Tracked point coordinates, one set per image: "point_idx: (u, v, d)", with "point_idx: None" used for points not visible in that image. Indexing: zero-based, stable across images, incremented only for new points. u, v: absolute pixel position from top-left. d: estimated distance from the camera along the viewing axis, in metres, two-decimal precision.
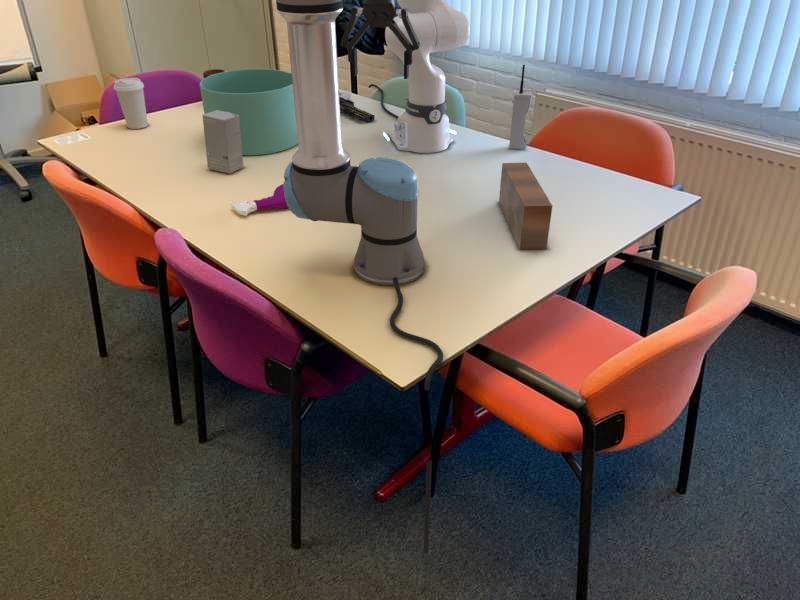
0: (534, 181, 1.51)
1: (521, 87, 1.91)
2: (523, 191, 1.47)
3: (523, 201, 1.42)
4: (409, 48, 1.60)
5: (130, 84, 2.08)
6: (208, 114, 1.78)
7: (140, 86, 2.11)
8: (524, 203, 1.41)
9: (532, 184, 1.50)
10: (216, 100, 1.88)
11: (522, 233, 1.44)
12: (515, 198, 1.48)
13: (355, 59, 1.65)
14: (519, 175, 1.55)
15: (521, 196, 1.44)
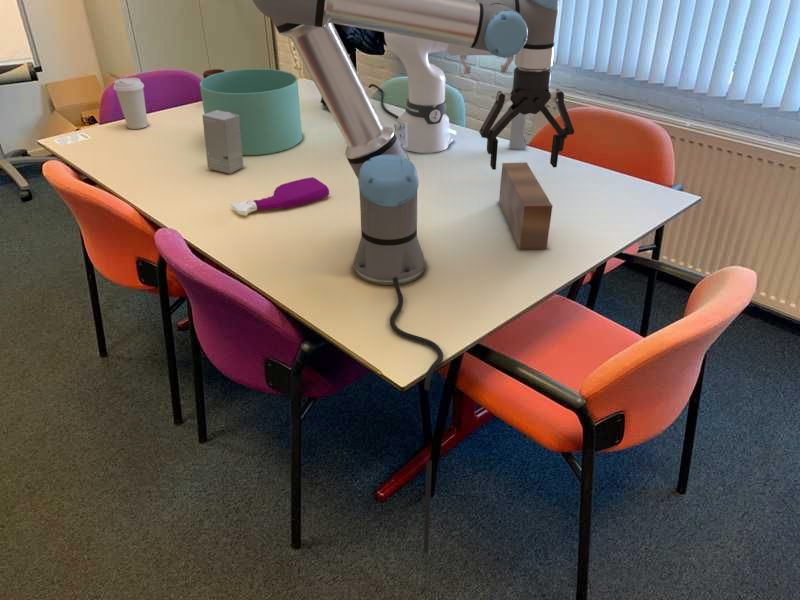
0: (534, 181, 1.51)
1: None
2: (523, 191, 1.47)
3: (523, 201, 1.42)
4: (563, 134, 1.38)
5: (130, 84, 2.08)
6: (208, 114, 1.78)
7: (140, 86, 2.11)
8: (524, 203, 1.41)
9: (532, 184, 1.50)
10: (216, 100, 1.88)
11: (522, 233, 1.44)
12: (515, 198, 1.48)
13: None
14: (519, 175, 1.55)
15: (521, 196, 1.44)
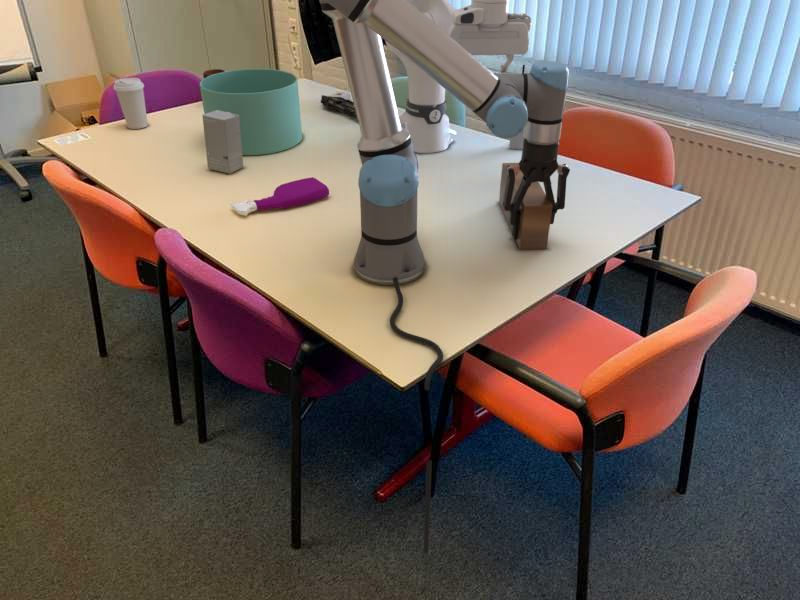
0: None
1: None
2: None
3: (523, 201, 1.42)
4: (554, 209, 1.44)
5: (130, 84, 2.08)
6: (208, 114, 1.78)
7: (140, 86, 2.11)
8: (524, 203, 1.41)
9: (533, 184, 1.50)
10: (216, 100, 1.88)
11: (522, 233, 1.44)
12: None
13: None
14: (519, 175, 1.55)
15: None
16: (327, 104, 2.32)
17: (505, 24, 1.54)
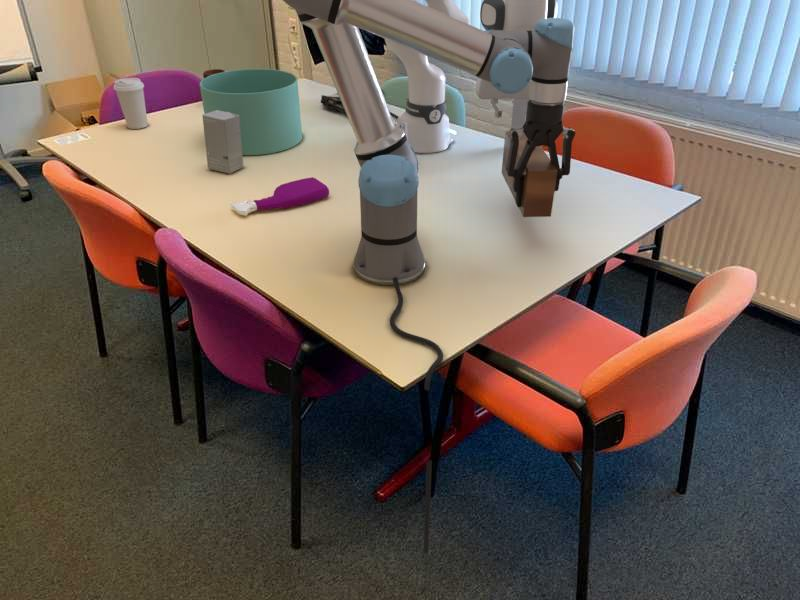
0: (538, 148, 1.47)
1: None
2: None
3: (527, 166, 1.38)
4: (559, 174, 1.40)
5: (130, 84, 2.08)
6: (208, 114, 1.78)
7: (140, 86, 2.11)
8: (528, 168, 1.37)
9: (536, 150, 1.46)
10: (216, 100, 1.88)
11: (526, 199, 1.39)
12: None
13: None
14: (523, 142, 1.50)
15: None
16: (327, 104, 2.32)
17: None
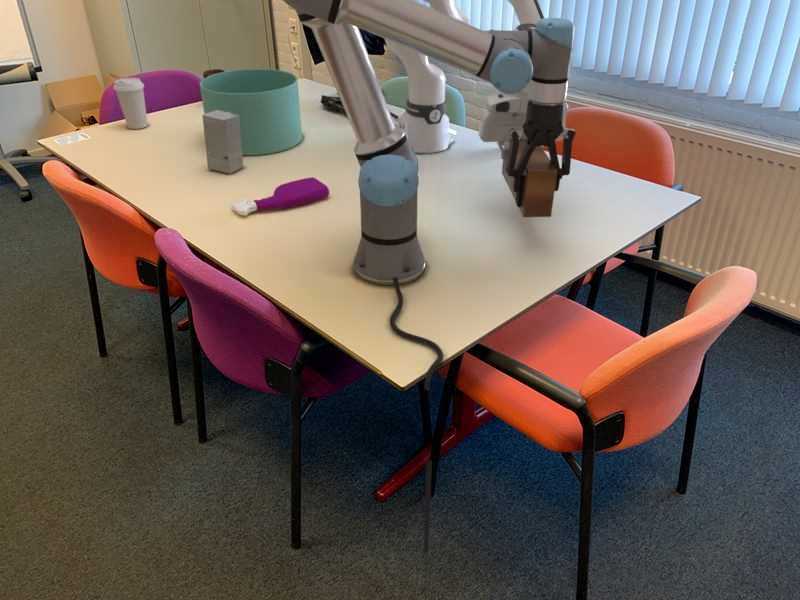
0: (538, 148, 1.47)
1: None
2: None
3: (527, 166, 1.38)
4: (559, 174, 1.40)
5: (130, 84, 2.08)
6: (208, 114, 1.78)
7: (140, 86, 2.11)
8: (528, 168, 1.37)
9: (537, 150, 1.46)
10: (216, 100, 1.88)
11: (526, 200, 1.39)
12: None
13: None
14: (523, 142, 1.50)
15: None
16: (327, 104, 2.32)
17: None
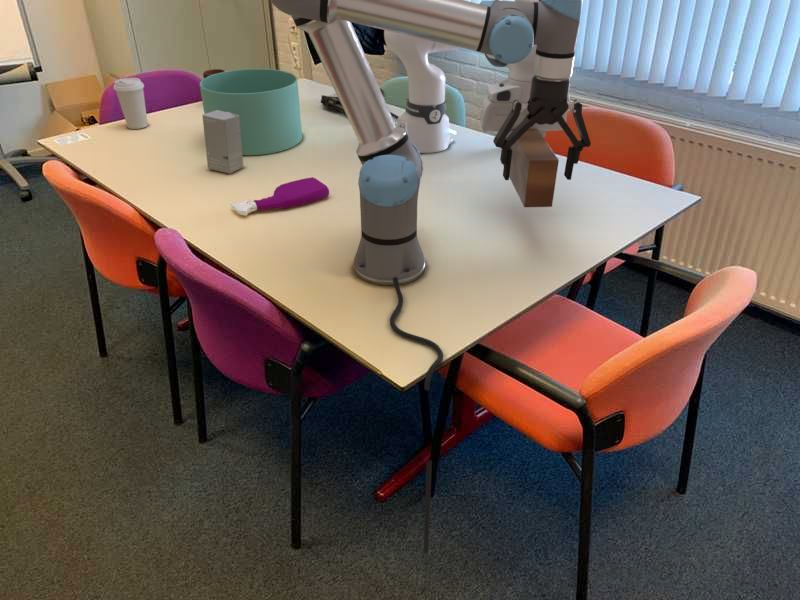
0: (539, 138, 1.46)
1: None
2: (528, 147, 1.41)
3: (528, 156, 1.37)
4: (579, 146, 1.35)
5: (130, 84, 2.08)
6: (208, 114, 1.78)
7: (140, 86, 2.11)
8: (529, 157, 1.36)
9: (538, 140, 1.44)
10: (216, 100, 1.88)
11: (527, 189, 1.38)
12: (520, 154, 1.43)
13: None
14: None
15: (526, 151, 1.39)
16: (327, 104, 2.32)
17: None
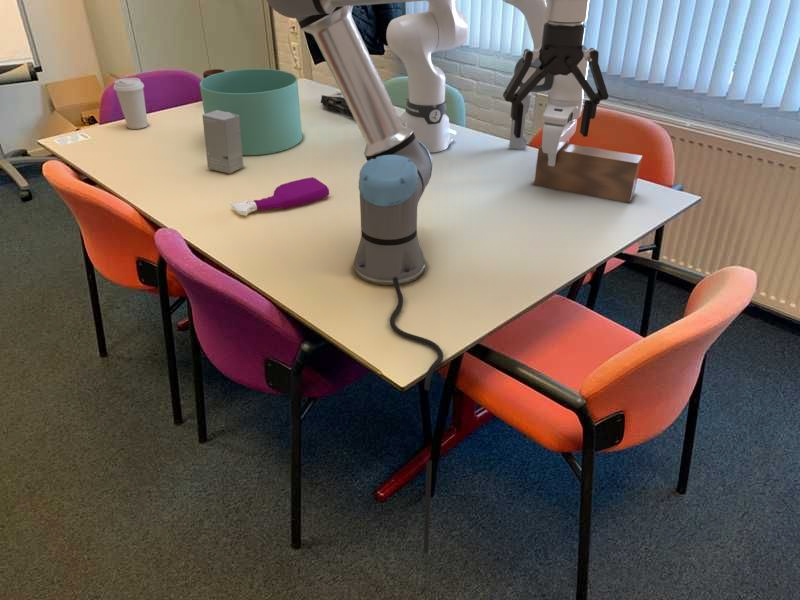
0: (590, 148, 1.70)
1: None
2: (607, 156, 1.65)
3: (627, 161, 1.62)
4: (596, 98, 1.25)
5: (130, 84, 2.08)
6: (208, 114, 1.78)
7: (140, 86, 2.11)
8: (632, 162, 1.62)
9: (595, 150, 1.69)
10: (216, 100, 1.88)
11: (632, 187, 1.65)
12: (601, 165, 1.66)
13: None
14: (572, 149, 1.70)
15: (617, 159, 1.63)
16: (327, 104, 2.32)
17: None
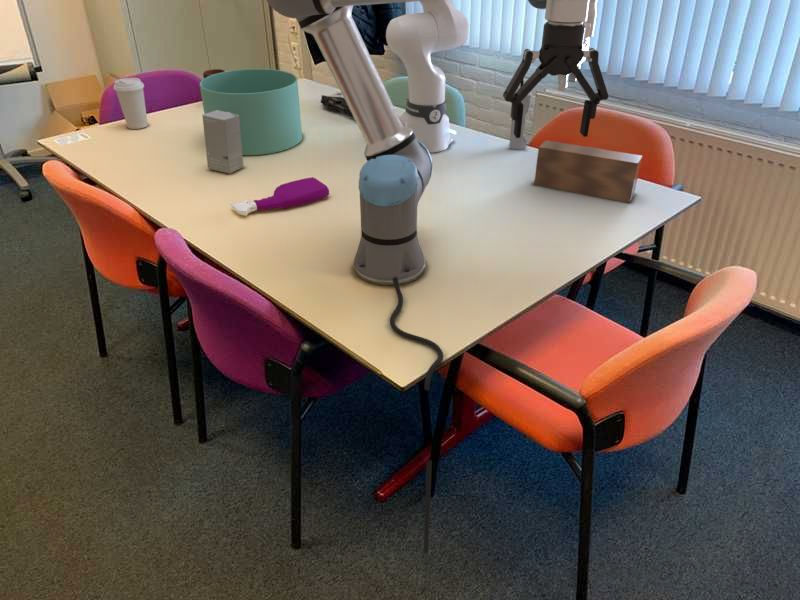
0: (590, 148, 1.70)
1: None
2: (607, 156, 1.65)
3: (627, 161, 1.62)
4: (596, 98, 1.25)
5: (130, 84, 2.08)
6: (208, 114, 1.78)
7: (140, 86, 2.11)
8: (632, 162, 1.62)
9: (595, 150, 1.69)
10: (216, 100, 1.88)
11: (632, 187, 1.65)
12: (601, 165, 1.66)
13: None
14: (572, 149, 1.70)
15: (617, 159, 1.63)
16: (327, 104, 2.32)
17: None
